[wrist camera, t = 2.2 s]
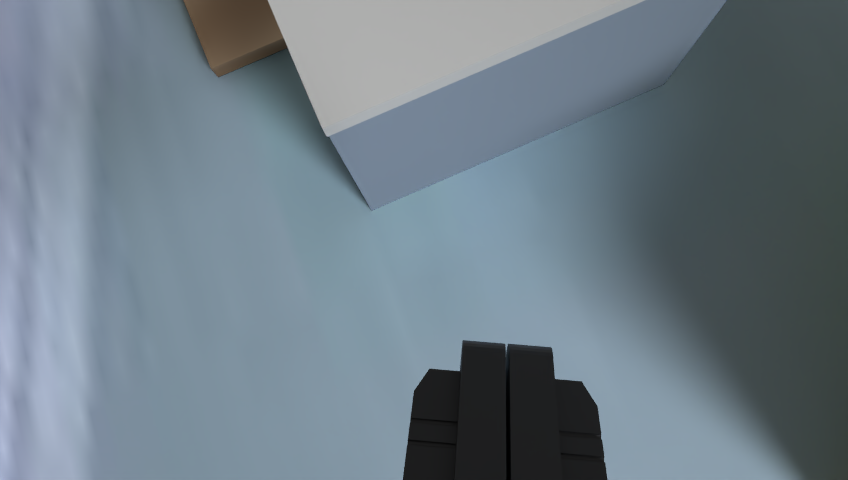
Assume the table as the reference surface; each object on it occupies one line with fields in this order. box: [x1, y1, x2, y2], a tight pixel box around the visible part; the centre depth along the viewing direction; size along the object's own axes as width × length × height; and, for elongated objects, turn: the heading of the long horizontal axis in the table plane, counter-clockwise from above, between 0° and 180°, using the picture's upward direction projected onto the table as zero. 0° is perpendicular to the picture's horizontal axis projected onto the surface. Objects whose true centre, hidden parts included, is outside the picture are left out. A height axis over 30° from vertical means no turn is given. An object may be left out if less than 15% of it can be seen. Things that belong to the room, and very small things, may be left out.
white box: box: [268, 0, 727, 210], centre depth 27 cm, size 5×14×12 cm, turn 114°
